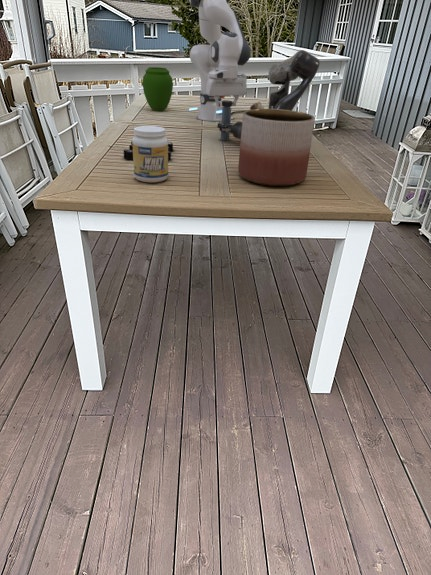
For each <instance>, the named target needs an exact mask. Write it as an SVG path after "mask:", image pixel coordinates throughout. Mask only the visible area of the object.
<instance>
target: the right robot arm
mask: <svg viewBox="0 0 431 575" xmlns="http://www.w3.org/2000/svg"><path fill="white" fill-rule="evenodd" d="M320 66H321V60H320V59H319V58H318V57H316V56H314V55H312V54H311V53H309V52H308V51H307V50H304V49H299V50H298V51H296V53H294V54H293V55H292V56H291V57H289V58H287V59H284V60H282V61H281V62H279V63H274V64H272V65H271V66H270V68H269V69H268V70H269V71H268V81H269V83H270V84H271V85H279V86H280V88H278V89H277V90H274V91H271V92H270V93H269V99H268V108H267V109H282V110H291V111H294V108H295V107H296V105H297V104H298V102H299V100H300V99H301V97H303V95H304V93H305V92H306V90H307V88H308V87H309V86H310V84H311V82H312V81H313V79H314V78H315V76H316V75H317V73H318V71H319V69H320ZM298 78H299V79H301V82H300V84H298V86H297V88H295V89H294V90H292V91H291V92H289V90H290V85H291V82H293V81H295V80H297V79H298ZM216 125H217V128H218V130H219V131H220V133H221V132H223V133H225V132H230V134H232V136H233V137H234V138H235V139H238V140H241V132H242V121H237V122H232V123H231V122H230V124H221V122H217V124H216Z"/></svg>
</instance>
